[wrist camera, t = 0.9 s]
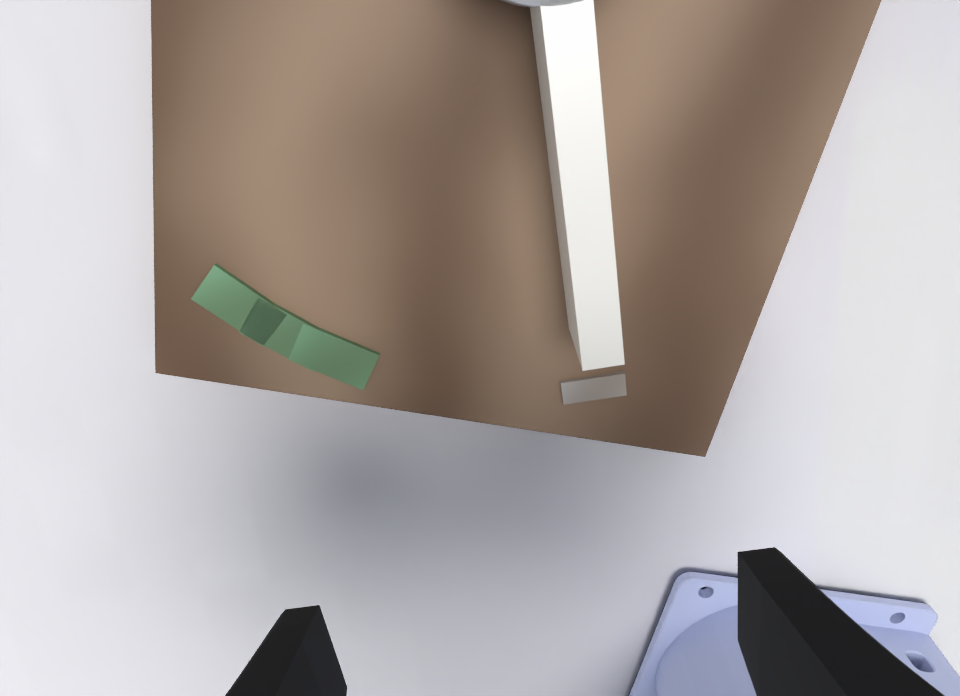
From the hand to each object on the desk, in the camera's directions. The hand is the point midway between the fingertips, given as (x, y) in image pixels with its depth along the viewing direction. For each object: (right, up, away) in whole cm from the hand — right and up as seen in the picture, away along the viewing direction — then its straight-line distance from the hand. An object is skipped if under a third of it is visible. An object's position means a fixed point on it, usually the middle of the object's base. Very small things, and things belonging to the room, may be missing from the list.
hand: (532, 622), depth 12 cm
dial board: (0, +11, +5) cm, 12 cm away
